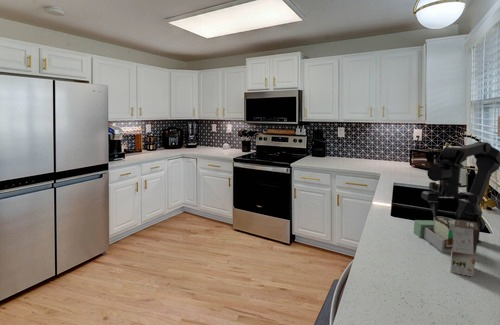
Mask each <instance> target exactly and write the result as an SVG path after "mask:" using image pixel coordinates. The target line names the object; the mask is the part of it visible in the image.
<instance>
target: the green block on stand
mask: <svg viewBox="0 0 500 325" xmlns="http://www.w3.org/2000/svg"><path fill="white" fill-rule="evenodd" d="M413 234H414V235H416V236H417V237H418V238H419V239H423V240H424V241H426V243H428V244H429V245H430V246H432V247H434V248H435V249H436V251H438V252H439V253H441V254H452V248H451V249H446V248H444V244H445V240H443V239H442V238H441V237H439V236H438V235H436V234H435V233H434V220H429V219H428V220H427V219H426V220H425V219H424V220H422V219H415V220H414V223H413Z"/></svg>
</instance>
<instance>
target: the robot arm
mask: <svg viewBox="0 0 500 325" xmlns="http://www.w3.org/2000/svg"><path fill="white" fill-rule="evenodd" d="M469 157H474V158H475V166H476V168H477V171H476V174H475V177H474V179H473V183H472V185H471V188H470V190H469V192H467V191H459V188H460V187H461V186H462V183H461V182H460V179H461V169H463V168H464V167H465V166H464V165H463V164H462V163H464V162H465V161H467V160H468V158H469ZM499 169H500V150H499V149H497V148H495V147H494V146H493V145H492V144H491V143H489V142H483V141H482V142H481V141H476V142H474V143H471V144H467V145H463V146H457V147H455V146H445V147H444V148H442V150H441V151H440V153H439V155H438V156H437V158H436V160H435V162H434V163H433V164H432V166H431V167H429V168H428V170H427V173H426V174H427V178H428V179H429V180H431V181H432V182H431V181H430V182H429V184H428V189H429V190H428V191H427V190H423V191H422V192H421V195H420V197H421V199H423V200H425V202H428V204H429V206H430V208H431V212H432V216H433V218H434V217H436V216H438V212H439V211H438V210H439V205H440V201H439V199H440V200H441V199H445V200H446V199H447V200H457V202H458V206H457V209H456V211H455V215H454V216H455V220H464V221H470V222H476V223H477V225H478V239H477V243H482V240H480V232H481V230H484V229H485V227H486V221H485V220H484V218H483V217H482V216H483V211H482V208H481V205H482V204H481V203H482V201H483V199H484V195H485V193H486V191H487V188H488V185H489V182H490V179H491V177H492V175H493V174H494V173H496V171H498V170H499ZM437 182H439V183H437Z"/></svg>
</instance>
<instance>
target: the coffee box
mask: <svg viewBox="0 0 500 325" xmlns="http://www.w3.org/2000/svg"><path fill="white" fill-rule="evenodd" d="M454 220H455V224H454V233H453V243H452V253H450V254H451V256H450V257H451V258H450V271H449V272H450V273H453V274H457V275H461V274H462V275H463V276H465V275H467V276H466V277H469V276H471V277H470V278H473V277H474V274H475V273H474V272H475V264H476V263H475V262H476V254H477V246H478V242H477V239H478V225H477V223H476V222H470V221H464V220H456V219H454Z"/></svg>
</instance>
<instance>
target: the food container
mask: <svg viewBox="0 0 500 325" xmlns="http://www.w3.org/2000/svg"><path fill="white" fill-rule="evenodd" d="M455 220H456V219H453V218H449V217H445V216H442V215H441V216H439V215H437V216H436V217H434V216H433V220H432V221H434V233H435V234H436V235H438V236H439V237H441V238H442V239H443V240H445V244H444V248H446V249H451V248H452V243H453V233H454V224H455Z"/></svg>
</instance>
